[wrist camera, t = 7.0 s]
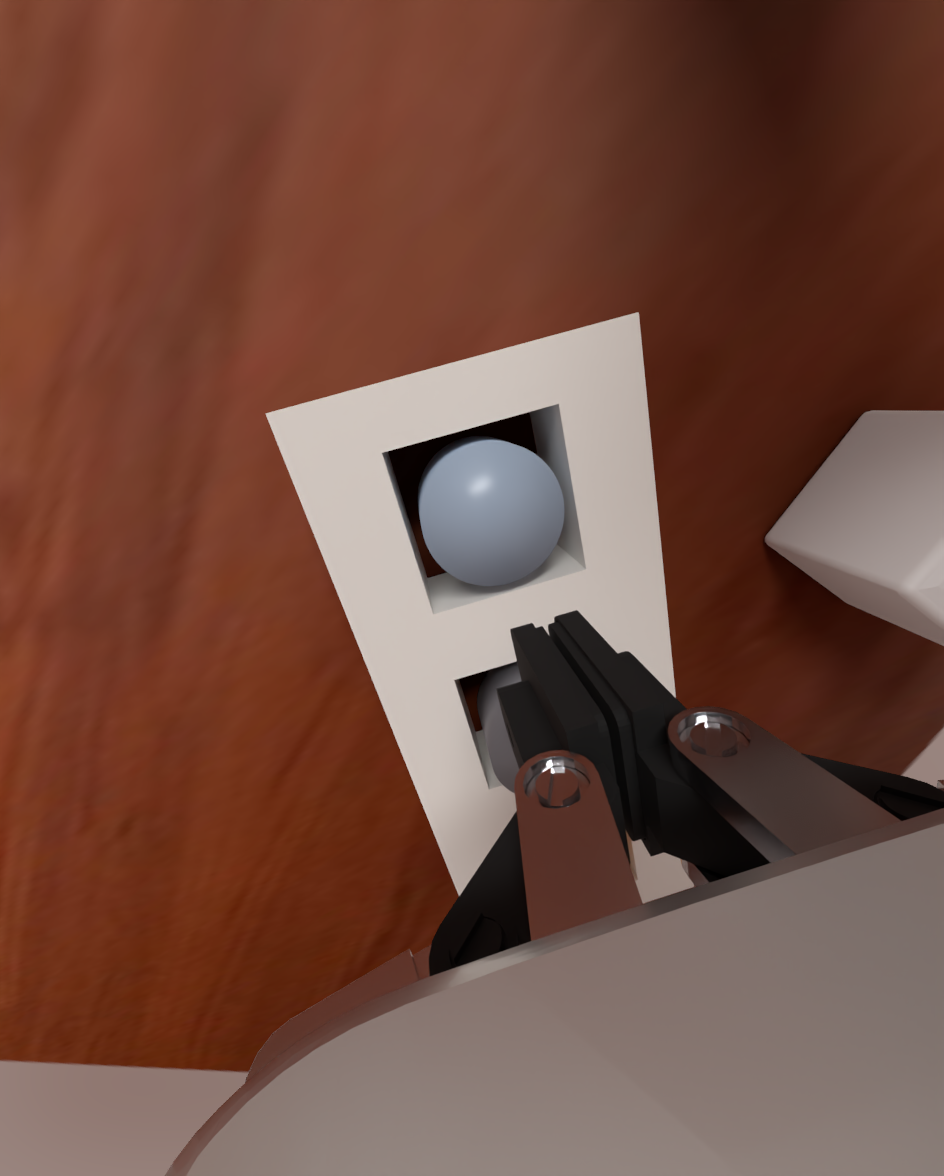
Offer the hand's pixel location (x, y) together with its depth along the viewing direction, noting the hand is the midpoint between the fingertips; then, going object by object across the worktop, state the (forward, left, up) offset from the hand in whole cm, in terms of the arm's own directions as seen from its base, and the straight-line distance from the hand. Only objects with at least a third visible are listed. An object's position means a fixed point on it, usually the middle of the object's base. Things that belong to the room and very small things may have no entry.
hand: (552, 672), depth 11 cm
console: (+7, 0, -10) cm, 12 cm away
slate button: (-2, 0, -9) cm, 10 cm away
